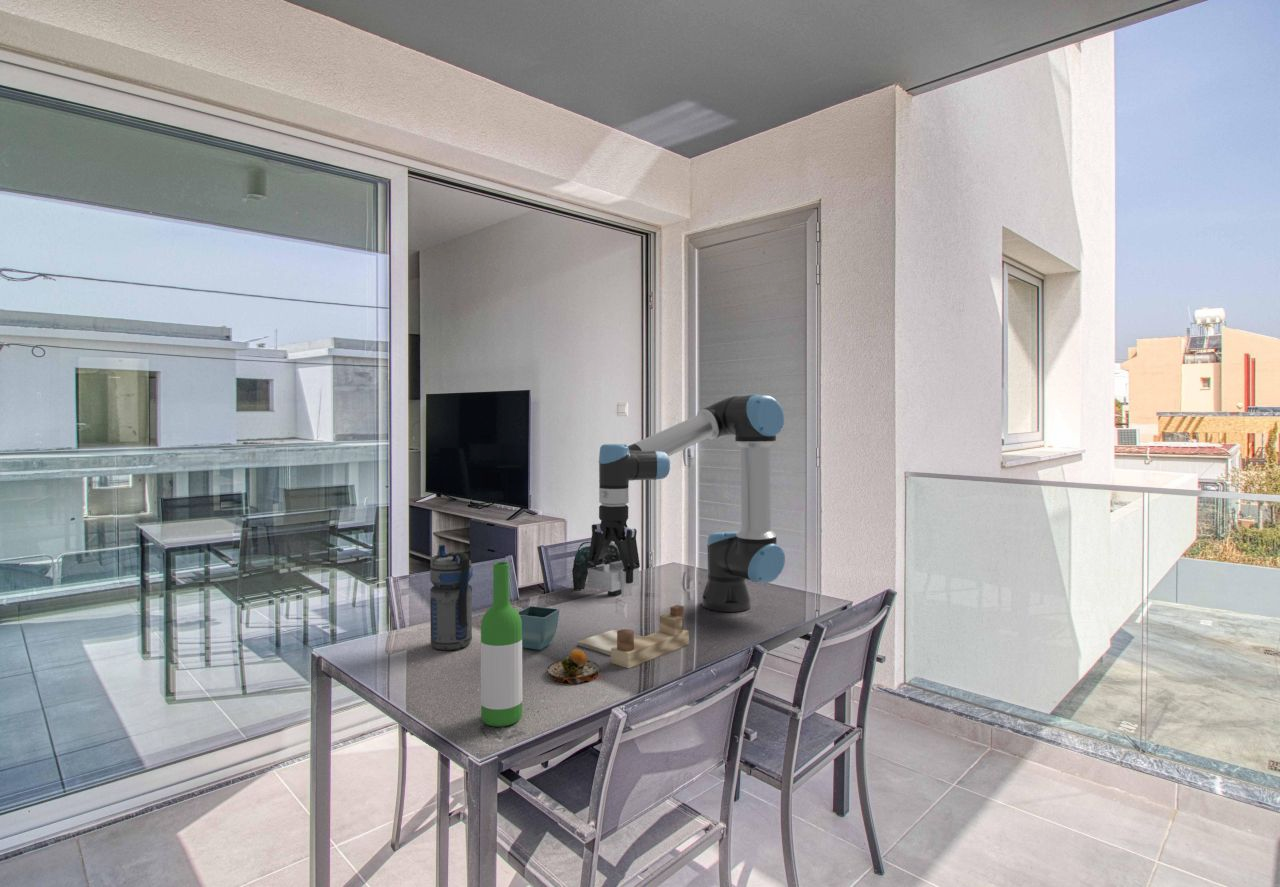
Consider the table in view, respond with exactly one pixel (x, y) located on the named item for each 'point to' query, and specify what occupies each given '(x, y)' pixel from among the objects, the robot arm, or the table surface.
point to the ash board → (602, 641)
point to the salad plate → (574, 669)
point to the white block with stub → (609, 576)
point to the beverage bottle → (450, 600)
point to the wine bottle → (501, 655)
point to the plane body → (651, 640)
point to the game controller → (592, 565)
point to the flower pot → (538, 626)
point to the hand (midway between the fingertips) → (613, 592)
